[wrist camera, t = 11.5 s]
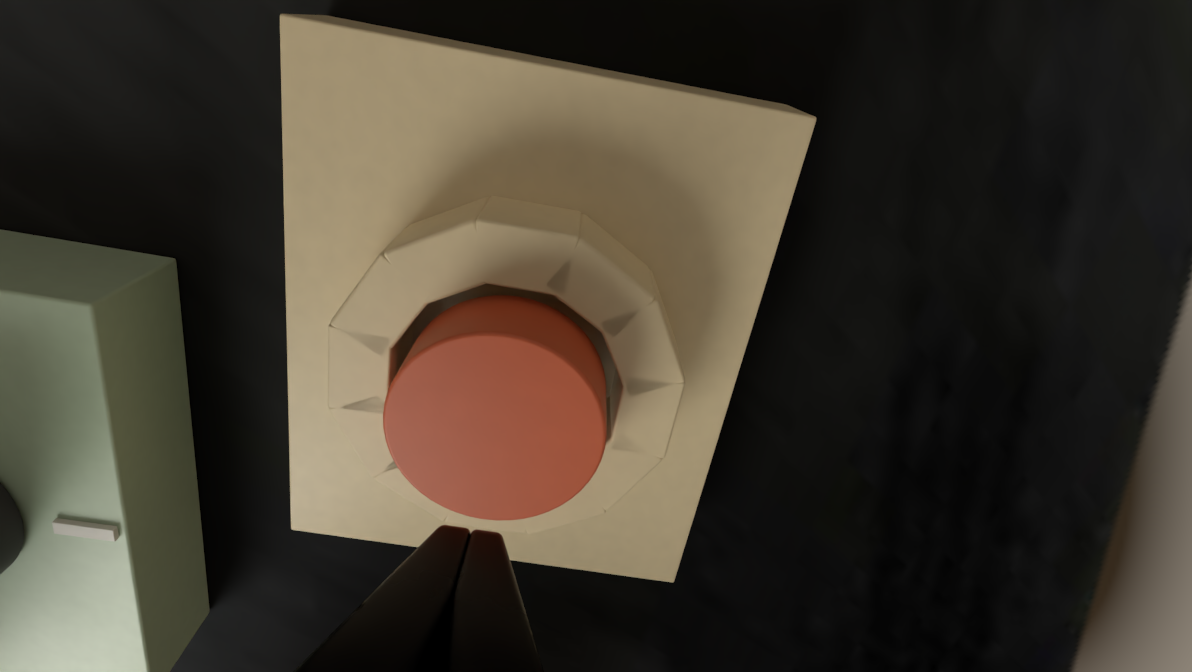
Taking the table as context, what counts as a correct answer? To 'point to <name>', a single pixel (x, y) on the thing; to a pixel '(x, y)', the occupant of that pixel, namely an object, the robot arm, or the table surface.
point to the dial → (9, 530)
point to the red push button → (498, 409)
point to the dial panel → (96, 460)
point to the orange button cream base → (520, 266)
